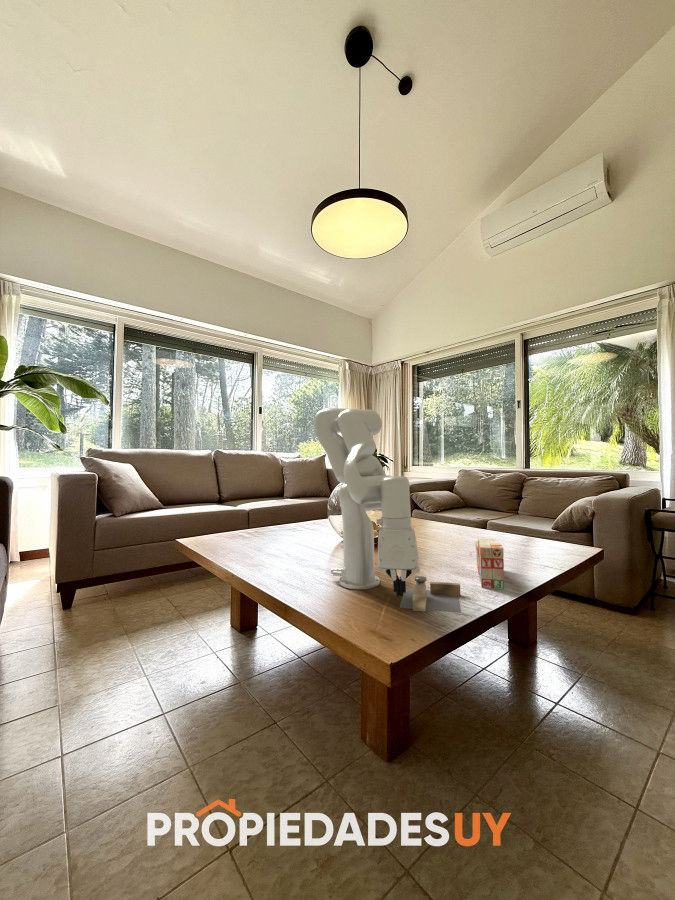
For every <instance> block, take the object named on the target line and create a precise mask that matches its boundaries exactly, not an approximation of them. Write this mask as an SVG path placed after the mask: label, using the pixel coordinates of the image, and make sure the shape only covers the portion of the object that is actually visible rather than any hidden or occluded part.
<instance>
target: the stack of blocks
mask: <svg viewBox="0 0 675 900" xmlns="http://www.w3.org/2000/svg"><path fill="white" fill-rule="evenodd" d="M475 551H476V553H475V554H476V569H477V573H478V576H479V582H480V587H481V588H482V589H492V590H493V589H496V590H505V576H504V575H505V573H504V572H505V571H504V569H505V566H504V565H505V561H504V559H505V558H504V557H505V556H504V553H505V552H504V547H503V545H502V543H501V542H500V540H499V539H498V538H486V537H485V538H482V537H478V538H477V541H475Z"/></svg>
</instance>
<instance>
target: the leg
mask: <svg viewBox="0 0 675 900" xmlns="http://www.w3.org/2000/svg"><path fill="white" fill-rule="evenodd" d="M413 589H414V591H413V609H412V611H413V612H426V610H425V609H426V590H427V585H426V584H425V585H418V584H416V583H415V584H414V587H413Z"/></svg>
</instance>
